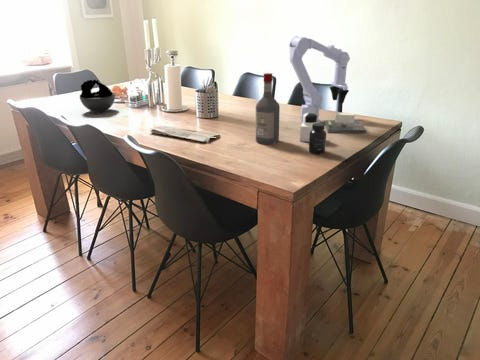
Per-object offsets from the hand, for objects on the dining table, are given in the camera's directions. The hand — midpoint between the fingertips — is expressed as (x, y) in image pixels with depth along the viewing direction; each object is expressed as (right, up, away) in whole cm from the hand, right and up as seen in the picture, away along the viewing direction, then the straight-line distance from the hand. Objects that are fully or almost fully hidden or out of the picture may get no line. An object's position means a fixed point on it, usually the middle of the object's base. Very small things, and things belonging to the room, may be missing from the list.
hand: (337, 101), depth 209 cm
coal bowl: (-137, -1, +28) cm, 140 cm away
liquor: (-40, -25, -31) cm, 56 cm away
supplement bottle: (-20, -30, -45) cm, 58 cm away
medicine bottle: (-21, -24, -29) cm, 43 cm away
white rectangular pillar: (0, -14, -13) cm, 20 cm away
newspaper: (-80, -21, -20) cm, 85 cm away
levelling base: (0, -16, -13) cm, 20 cm away
